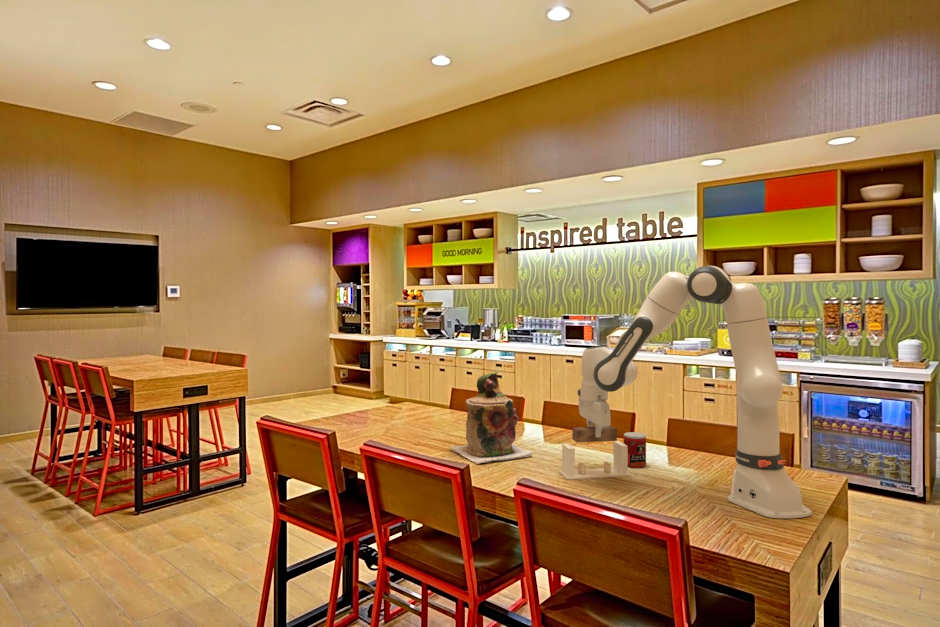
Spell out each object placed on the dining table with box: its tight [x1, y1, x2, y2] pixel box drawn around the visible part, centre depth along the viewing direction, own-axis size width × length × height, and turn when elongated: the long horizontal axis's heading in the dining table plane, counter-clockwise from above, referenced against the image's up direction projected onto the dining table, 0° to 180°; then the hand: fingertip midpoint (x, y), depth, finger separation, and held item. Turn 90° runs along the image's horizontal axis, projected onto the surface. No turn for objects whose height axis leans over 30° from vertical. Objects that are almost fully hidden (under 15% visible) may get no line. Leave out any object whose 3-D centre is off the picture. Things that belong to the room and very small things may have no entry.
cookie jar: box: [450, 369, 534, 465], centre depth 225 cm, size 25×25×32 cm
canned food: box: [623, 431, 647, 469], centre depth 208 cm, size 8×8×11 cm
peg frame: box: [559, 440, 631, 480], centre depth 198 cm, size 22×8×10 cm, turn 99°
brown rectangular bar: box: [571, 425, 618, 444], centre depth 198 cm, size 14×4×4 cm, turn 99°
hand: (594, 434), depth 198 cm, fingers closed on brown rectangular bar, 4 cm apart
